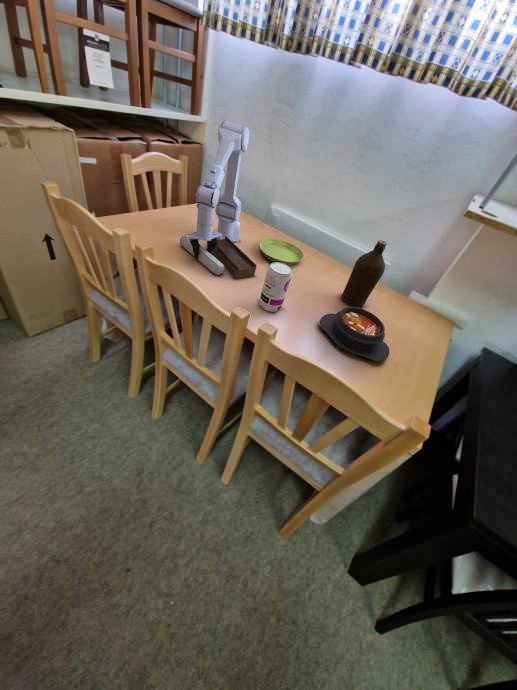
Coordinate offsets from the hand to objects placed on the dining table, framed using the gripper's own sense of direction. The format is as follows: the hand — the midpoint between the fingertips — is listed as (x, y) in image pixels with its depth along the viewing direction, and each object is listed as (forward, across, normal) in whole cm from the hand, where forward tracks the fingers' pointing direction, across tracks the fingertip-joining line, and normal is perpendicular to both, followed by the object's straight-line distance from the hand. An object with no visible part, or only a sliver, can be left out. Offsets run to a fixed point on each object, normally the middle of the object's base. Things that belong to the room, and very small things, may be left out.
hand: (202, 256), depth 115 cm
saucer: (+2, +37, -4) cm, 37 cm away
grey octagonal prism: (+2, 0, 0) cm, 2 cm away
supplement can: (+2, +10, -34) cm, 35 cm away
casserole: (+2, +27, -59) cm, 65 cm away
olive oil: (+2, +46, -42) cm, 62 cm away
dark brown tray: (+1, +10, -4) cm, 11 cm away
